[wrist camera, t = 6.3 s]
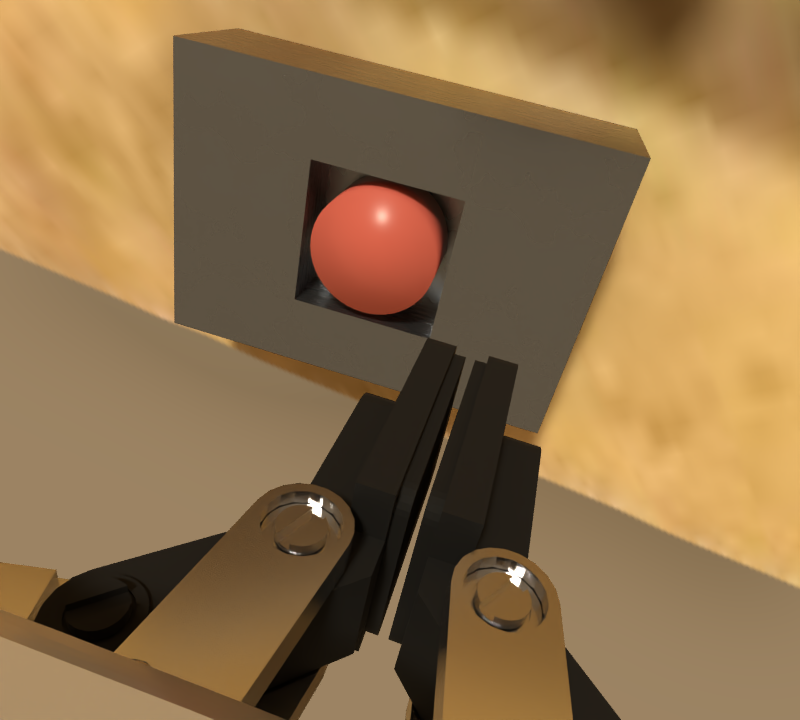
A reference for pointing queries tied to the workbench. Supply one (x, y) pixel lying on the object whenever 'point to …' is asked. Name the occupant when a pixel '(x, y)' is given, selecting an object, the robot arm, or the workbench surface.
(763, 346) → the workbench surface
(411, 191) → the button
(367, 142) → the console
